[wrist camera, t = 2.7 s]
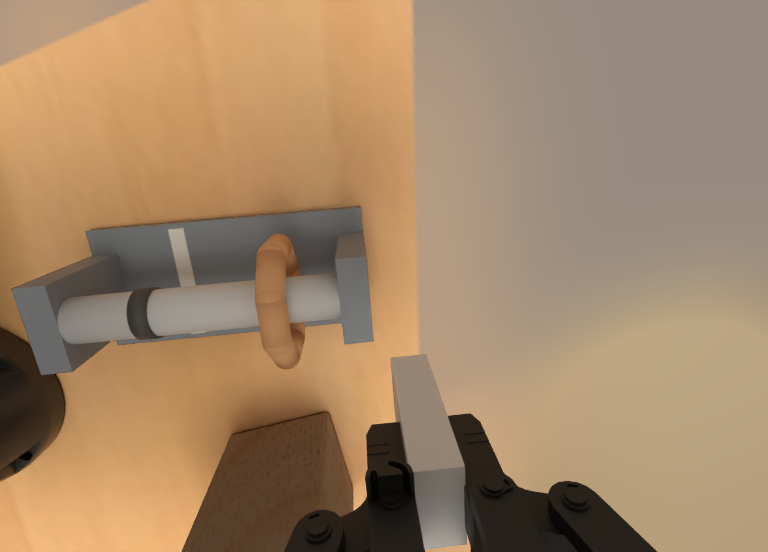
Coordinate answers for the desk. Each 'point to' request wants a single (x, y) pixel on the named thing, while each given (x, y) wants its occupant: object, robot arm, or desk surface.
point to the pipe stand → (194, 284)
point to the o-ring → (277, 301)
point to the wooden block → (271, 487)
